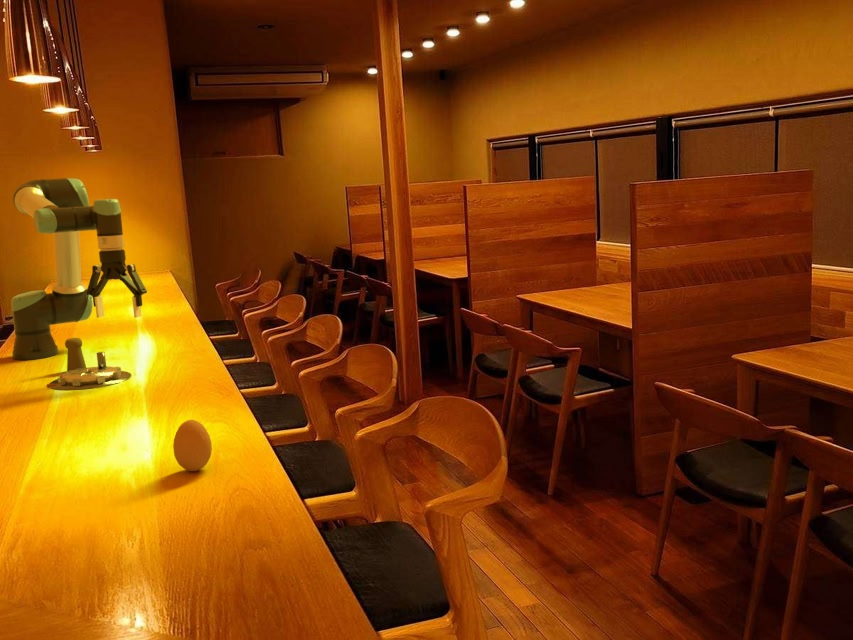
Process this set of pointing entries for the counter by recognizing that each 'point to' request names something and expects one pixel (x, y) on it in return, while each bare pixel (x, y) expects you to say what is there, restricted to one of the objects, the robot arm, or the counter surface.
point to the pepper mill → (74, 354)
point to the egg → (192, 445)
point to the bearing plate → (57, 386)
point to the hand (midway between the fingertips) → (119, 317)
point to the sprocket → (90, 374)
